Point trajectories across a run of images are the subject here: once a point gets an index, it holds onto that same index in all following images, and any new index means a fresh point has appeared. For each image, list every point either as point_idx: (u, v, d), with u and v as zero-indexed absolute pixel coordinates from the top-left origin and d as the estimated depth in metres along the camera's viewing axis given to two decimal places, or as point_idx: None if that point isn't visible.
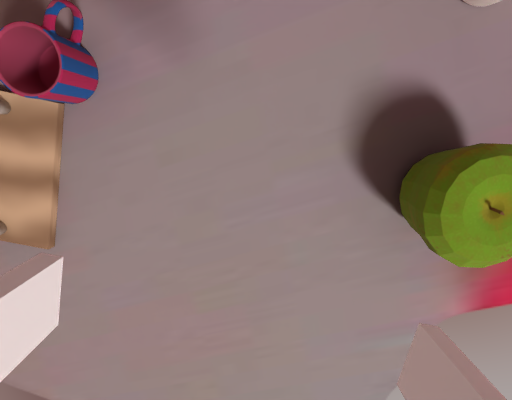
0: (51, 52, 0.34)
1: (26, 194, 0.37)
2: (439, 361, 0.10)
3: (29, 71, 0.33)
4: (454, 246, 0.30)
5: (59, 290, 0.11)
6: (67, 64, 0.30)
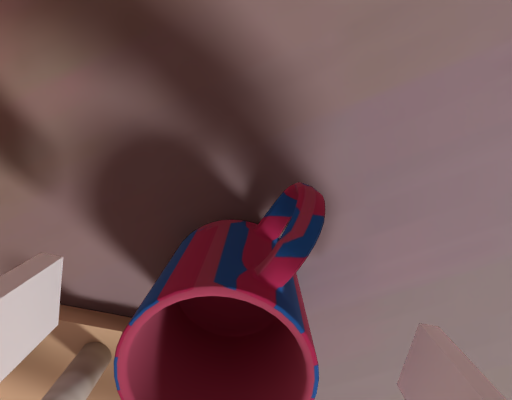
0: None
1: None
2: (439, 361, 0.10)
3: (166, 307, 0.14)
4: None
5: (59, 290, 0.11)
6: None
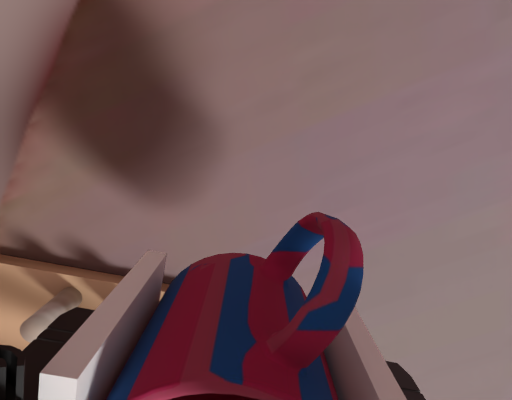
0: None
1: None
2: None
3: None
4: None
5: (160, 282, 0.13)
6: None
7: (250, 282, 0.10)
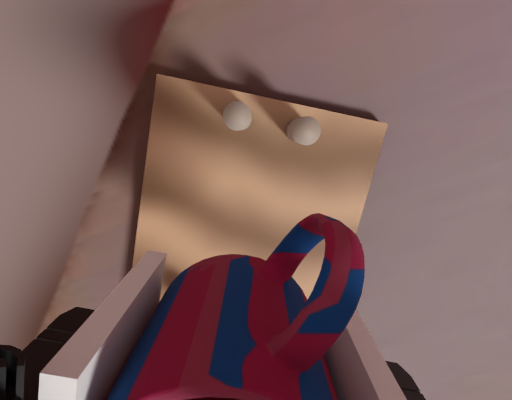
0: None
1: (306, 265, 0.24)
2: None
3: None
4: None
5: (160, 282, 0.13)
6: None
7: (250, 284, 0.10)
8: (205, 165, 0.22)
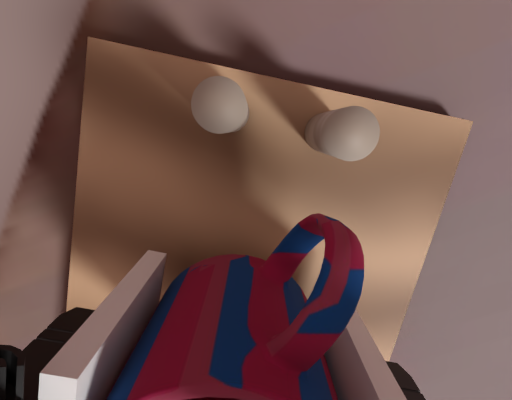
0: None
1: None
2: None
3: None
4: None
5: (160, 282, 0.13)
6: None
7: (250, 284, 0.10)
8: (173, 189, 0.14)
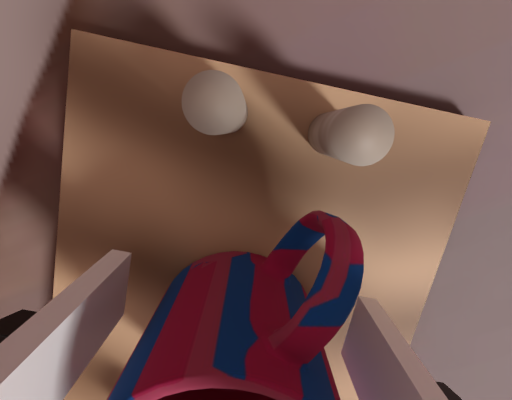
0: None
1: (338, 358, 0.14)
2: (369, 327, 0.11)
3: None
4: None
5: (126, 283, 0.12)
6: None
7: (251, 280, 0.11)
8: (165, 194, 0.13)
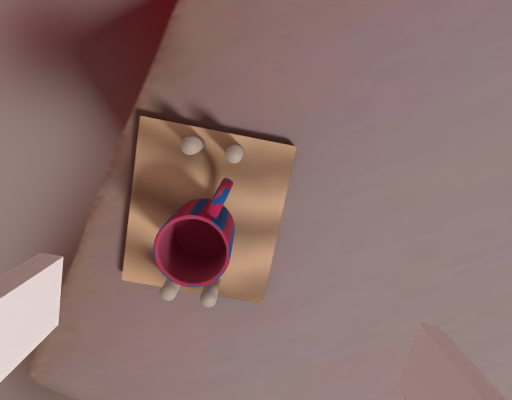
0: None
1: (247, 244, 0.34)
2: (439, 361, 0.10)
3: (171, 239, 0.31)
4: None
5: (59, 290, 0.11)
6: (231, 249, 0.28)
7: (205, 203, 0.30)
8: (174, 176, 0.32)
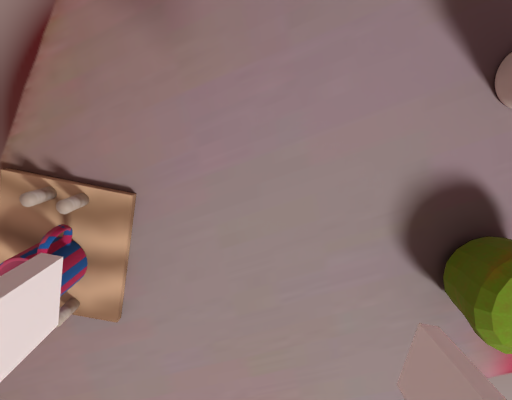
0: None
1: (99, 274, 0.41)
2: (439, 361, 0.10)
3: None
4: (503, 340, 0.33)
5: (59, 290, 0.11)
6: None
7: (51, 243, 0.37)
8: (33, 218, 0.39)
